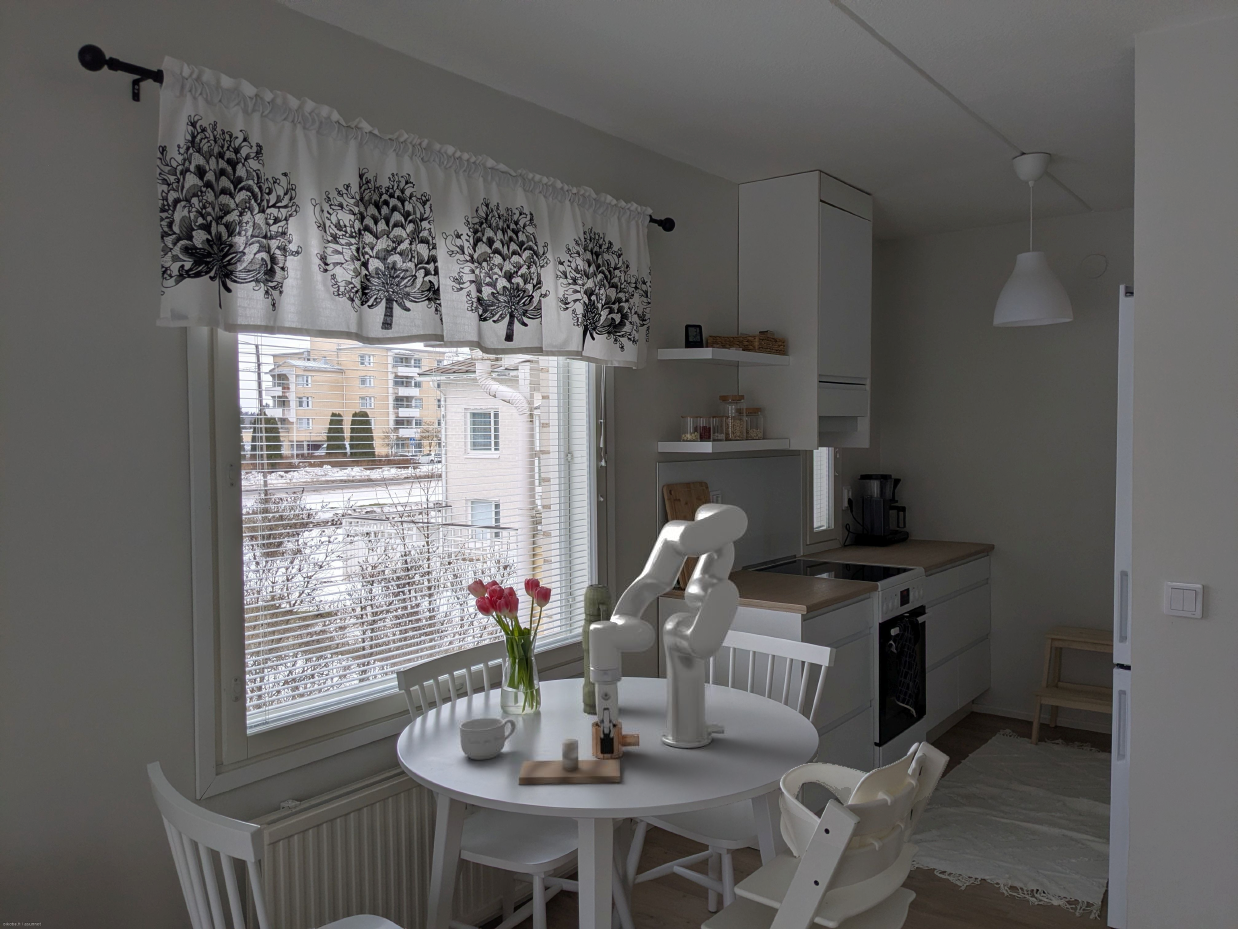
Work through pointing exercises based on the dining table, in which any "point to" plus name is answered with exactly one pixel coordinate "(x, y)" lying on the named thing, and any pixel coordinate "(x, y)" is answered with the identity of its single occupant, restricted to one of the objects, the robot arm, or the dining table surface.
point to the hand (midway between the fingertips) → (607, 747)
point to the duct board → (570, 777)
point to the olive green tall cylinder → (594, 610)
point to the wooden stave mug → (619, 740)
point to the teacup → (484, 737)
